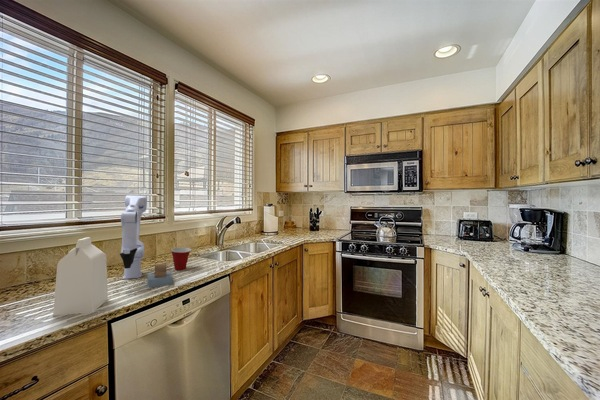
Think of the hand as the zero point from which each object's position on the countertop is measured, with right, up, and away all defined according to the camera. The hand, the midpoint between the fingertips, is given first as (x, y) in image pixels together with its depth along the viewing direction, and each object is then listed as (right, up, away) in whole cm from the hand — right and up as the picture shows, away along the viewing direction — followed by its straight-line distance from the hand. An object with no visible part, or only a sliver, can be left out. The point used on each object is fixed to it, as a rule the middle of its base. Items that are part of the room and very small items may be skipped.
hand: (128, 266), depth 115 cm
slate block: (+12, -10, +5) cm, 16 cm away
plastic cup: (+11, -10, +29) cm, 32 cm away
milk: (-2, -10, -22) cm, 24 cm away
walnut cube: (+12, -6, +5) cm, 15 cm away
